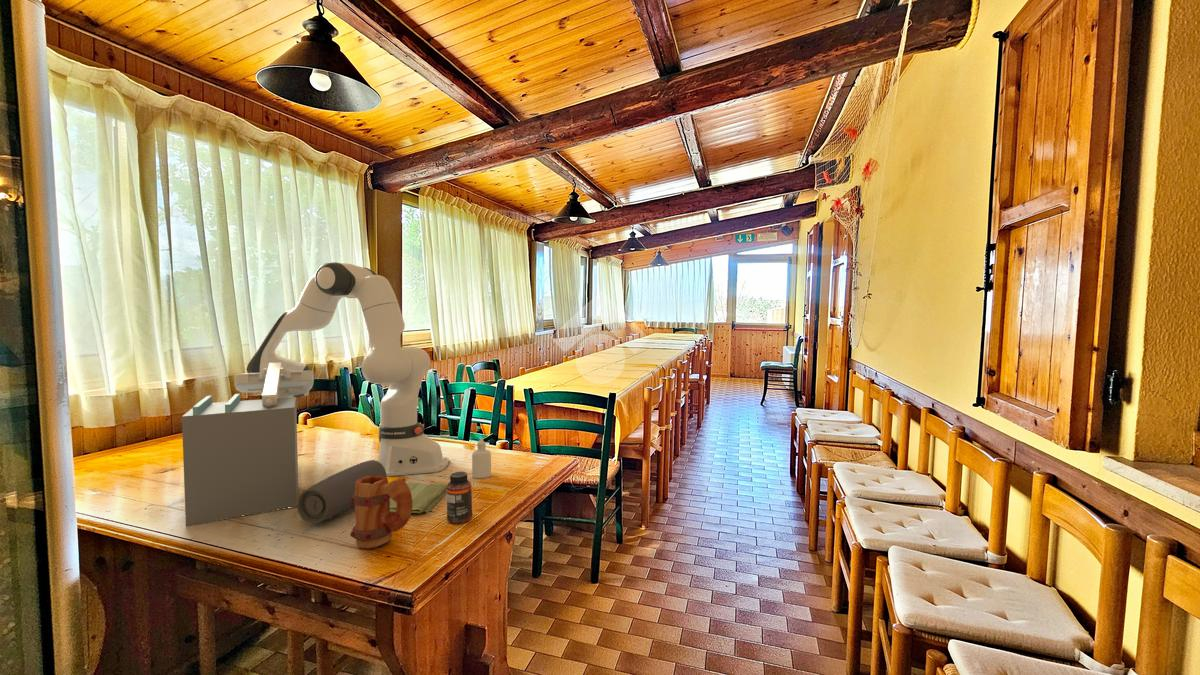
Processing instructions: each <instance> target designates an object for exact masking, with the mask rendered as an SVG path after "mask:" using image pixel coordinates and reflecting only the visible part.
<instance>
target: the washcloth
mask: <svg viewBox="0 0 1200 675" xmlns="http://www.w3.org/2000/svg"><path fill="white" fill-rule="evenodd" d="M406 484H407V485H408V487H409V489H410V491H411V495H412V501H413V503H412V512H411V514H423V515H425V514H429V513H430V512H431V510H432V509H433V508H434V507H435V506H436V505H437V504H438V503H439V502H440V500H442V498H443V496H444V495H445V494H446V487H447V483H446V484H445V483H430V482H429V483H422V482H415V481H414V482H413V481H407V482H406ZM396 504H397V503H396V502H395V501H394V500H393V499H392V498H390V512H391V513H393V514H395V512H396Z"/></svg>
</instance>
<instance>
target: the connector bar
mask: <svg viewBox="0 0 1200 675" xmlns="http://www.w3.org/2000/svg"><path fill="white" fill-rule="evenodd" d="M280 368H281V362H278V363H269V367H268V371H267V375H266V380H265V384H264V389H263V393H262V395H261V399H262V406H266V407H271V406H272V405H277V398H278V391H279V385H280V378H281V375H280Z"/></svg>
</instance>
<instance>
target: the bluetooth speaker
mask: <svg viewBox="0 0 1200 675" xmlns="http://www.w3.org/2000/svg"><path fill="white" fill-rule="evenodd" d="M366 476H374V477H376V476H384V477H387V478H388V476H387V475H386V471H385V468H384V467H383V465H382V464H381V463H380V462H378V460H375V459H370V460H366V461H363V462H360V463H357V464H355V465H353V466H351V467H347V468H345V469H344V470H341V471H339V472H336V473H334V474H331V475H330V476H329V477H326V478H324V479H322V480H320V481H319V482H317V483H315V484H313V485H311V486H309V487H308V488H306V489H305V490H304V491H302V492H301V493H300V495H299V497H297V507H296V510H297V513H298V515H299V516H300V518H301V519H302V520H303V521H305V522H306V523H310V524H318V523H321V522H324V521H326V520H329V519H330V518H333V519H334V518H335V519H336V518H339V517H341V516H343V515H345V514H347V513H349V512H350V511H352V510H355V504H353V503H351V502H350V499H351V498H352V497H353V494H354V493H355V483H356V481H357V479H361V478H362V477H366Z"/></svg>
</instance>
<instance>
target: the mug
mask: <svg viewBox="0 0 1200 675" xmlns="http://www.w3.org/2000/svg"><path fill="white" fill-rule="evenodd" d="M406 483H407V482H406V480H405V479H403V478H402V477H401V478H400V477H399V478H396V479H393V480H391V481H389V479H388V476H387V477H384V476H376V477H374V476H366V477H362V478H361V479H357V481H356V483H355V493H354V494H353V497H352V498H351V499H350V502H351V503H353V504H355V508H354V513H355V525H354V526H353V528H352V531H351V532H350V533H349V534H350V537H351V538H353V539H354V540H355V542H356V544H357V546H358V547H359V548H361V549H373V548H377V547H380V546H383V545H384V544H386V543H388V542H389V541H390V540H392V538H393V533H395V532H397V531H400V530H401V529H403V528H404V526H406V524H408V522H409V520H410V519H411V516H412V513H411V512H412V503H413V501H412V495H411V491H410V489H409V487H408V485H407V484H406ZM390 498H392V499H393V500H394V501H395V502H396V503H397V504H396V512H395V513H391V512H390Z"/></svg>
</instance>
